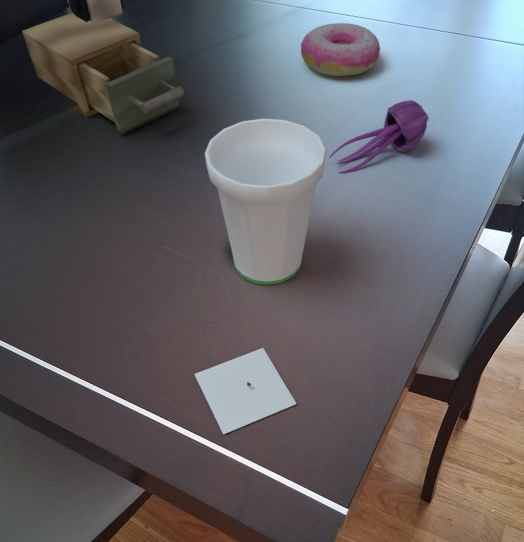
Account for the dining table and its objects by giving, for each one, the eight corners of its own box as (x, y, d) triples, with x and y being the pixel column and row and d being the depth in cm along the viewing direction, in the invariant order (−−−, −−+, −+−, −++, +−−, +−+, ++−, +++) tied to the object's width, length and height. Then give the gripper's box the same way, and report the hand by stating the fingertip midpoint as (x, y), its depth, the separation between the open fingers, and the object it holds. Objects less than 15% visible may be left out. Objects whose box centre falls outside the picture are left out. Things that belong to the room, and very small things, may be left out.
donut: (392, 73, 98) (396, 43, 94) (322, 89, 95) (324, 59, 91) (354, 41, 106) (357, 12, 102) (289, 55, 103) (290, 26, 99)
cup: (314, 226, 74) (321, 115, 62) (322, 296, 66) (332, 185, 54) (218, 229, 74) (206, 119, 62) (215, 299, 66) (201, 189, 54)
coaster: (194, 374, 60) (193, 369, 59) (263, 347, 61) (262, 343, 61) (223, 434, 55) (222, 430, 54) (296, 403, 57) (296, 399, 56)
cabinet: (149, 89, 97) (139, 32, 89) (87, 117, 91) (70, 60, 84) (101, 61, 103) (88, 6, 96) (40, 86, 98) (21, 30, 91)
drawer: (199, 116, 89) (193, 69, 84) (140, 145, 85) (130, 98, 79) (130, 76, 98) (121, 31, 92) (73, 101, 93) (60, 55, 87)
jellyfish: (323, 133, 78) (415, 82, 79) (321, 159, 85) (406, 111, 86) (349, 171, 77) (442, 118, 78) (344, 194, 83) (430, 145, 84)
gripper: (104, -189, 66) (135, -14, 81) (-33, -163, 59) (28, 24, 74) (141, -180, 63) (167, 1, 77) (1, -151, 56) (58, 42, 70)
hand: (99, 10), depth 75 cm, fingers closed on block, 4 cm apart
